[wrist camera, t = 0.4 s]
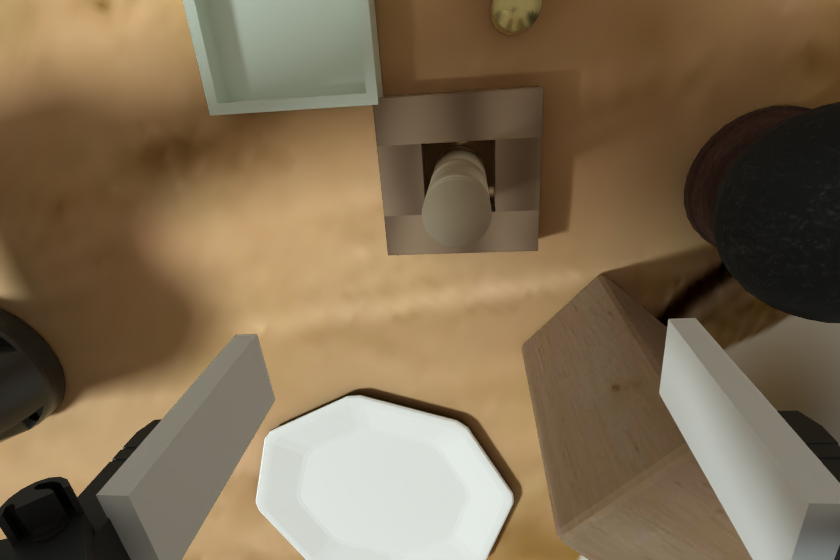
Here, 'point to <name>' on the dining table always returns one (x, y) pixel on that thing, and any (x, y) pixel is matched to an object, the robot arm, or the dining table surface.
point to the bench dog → (514, 14)
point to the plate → (381, 484)
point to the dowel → (457, 199)
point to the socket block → (455, 122)
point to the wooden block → (618, 438)
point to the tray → (285, 54)
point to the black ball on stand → (775, 206)
